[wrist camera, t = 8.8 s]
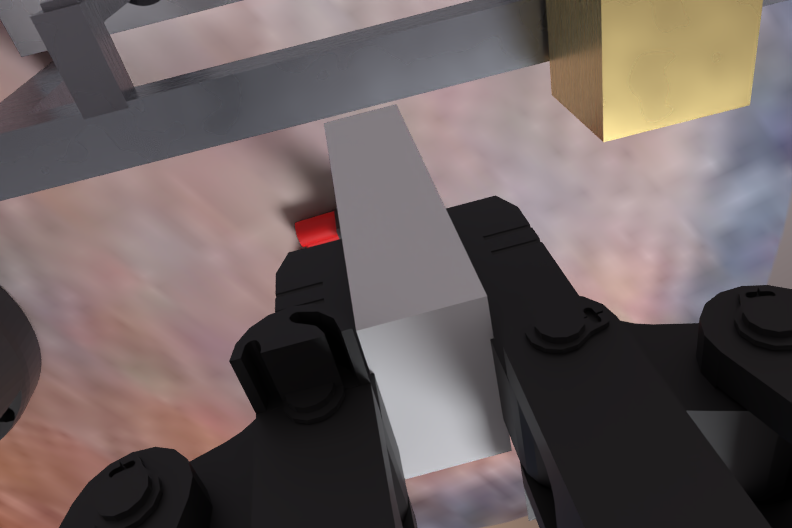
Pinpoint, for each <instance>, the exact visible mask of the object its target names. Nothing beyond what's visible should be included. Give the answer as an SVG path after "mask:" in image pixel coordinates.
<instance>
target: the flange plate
mask: <svg viewBox="0 0 792 528" xmlns="http://www.w3.org/2000/svg"><path fill="white" fill-rule="evenodd" d="M44 1H46V0H0V19H1V21H2V23H3V25H4V26H5V28H6V30H7V32H8V34H9V35H10V37H11V39H12V41H13V42H14V44H15V46H16V48H17V50H18V51H19V53H20V55H21V57H24V56H28V55H32V54H36V53H40V52H43V51H47V48H46V46H45V44H44V43H43V41H42V39H41V37H40V35H39V33H38V31H37V29H36V28H35V26H34V24H33V22H32V20H31V18H30V16H32V15H34V14H36V13H38V12H39V11H41V10H42V8H41V6H40V3H42V2H44ZM238 1H242V0H130V1H129V2H128V3H127V4H125V5H124V6H123V7H122V8H120V9H119V10H118V11H117V12H115V13H114V14H113V15H112V16H110V17H109V18H108V19H107V20H105V21H104V24H105V26H106V28H107V30H108V32H109V34H114V33H117V32H121V31H125V30H129V29H133V28H137V27H141V26H145V25H149V24H152V23H156V22H160V21H164V20H168V19H172V18H176V17H180V16H184V15H188V14H191V13H195V12H199V11H203V10H207V9H211V8H215V7H219V6H223V5H226V4H230V3H234V2H238Z"/></svg>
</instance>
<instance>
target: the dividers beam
mask: <svg viewBox="0 0 792 528" xmlns="http://www.w3.org/2000/svg"><path fill="white" fill-rule="evenodd" d="M129 1H130V0H46V1H44V2H42V3H40V6H41V8H42V10H41V11H39V12H38V13H36V14H34V15H32V16H30V18H31V20H32V22H33V24H34V26H35V28H36V29H37V31H38V33H39V35H40V37H41V39H42V41H43V43H44V44H45V46H46V48H47V50H48V52H49V54H50V56H51V58H52V60H53V61H52V62H51V63H50V64H49V65H47V66H46V67H45V68H43V69H42V70H41V71H40V72H38V73H37V74H36V75H35V76H33V77H32V78H31V79H30V80H28V81H27V82H26V83H25V84H23V85H22V86H21V87H20V88H18V89H17V90H16V91H14V92H13V93H12V94H11V95H9V96H8V97H7V98H6V99H4V100H3V101H2V102H1V103H0V201H2V200H6V199H10V198H14V197H18V196H22V195H26V194H30V193H34V192H37V191H41V190H45V189H49V188H53V187H57V186H61V185H65V184H69V183H73V182H77V181H81V180H84V179H88V178H92V177H96V176H100V175H104V174H108V173H112V172H116V171H120V170H124V169H128V168H132V167H135V166H139V165H143V164H147V163H151V162H155V161H159V160H163V159H167V158H171V157H175V156H179V155H183V154H186V153H190V152H194V151H198V150H202V149H206V148H210V147H214V146H218V145H222V144H226V143H230V142H234V141H237V140H241V139H245V138H249V137H253V136H257V135H261V134H265V133H269V132H273V131H277V130H281V129H285V128H288V127H292V126H296V125H300V124H304V123H308V122H312V121H316V120H320V119H324V118H328V117H332V116H336V115H339V114H343V113H347V112H351V111H355V110H359V109H363V108H367V107H371V106H375V105H379V104H383V103H387V102H390V101H394V100H398V99H402V98H406V97H410V96H414V95H418V94H422V93H426V92H430V91H434V90H437V89H441V88H445V87H449V86H453V85H457V84H461V83H465V82H469V81H473V80H477V79H481V78H485V77H488V76H492V75H496V74H500V73H504V72H508V71H512V70H516V69H520V68H524V67H528V66H532V65H536V64H539V63H543V62H547V61H550V59H549V43H548V28H547V13H546V0H473V1H469V2H465V3H461V4H457V5H453V6H450V7H446V8H442V9H438V10H434V11H430V12H426V13H422V14H418V15H414V16H410V17H407V18H403V19H399V20H395V21H391V22H387V23H383V24H379V25H375V26H371V27H367V28H364V29H360V30H356V31H352V32H348V33H344V34H340V35H336V36H332V37H328V38H325V39H321V40H317V41H313V42H309V43H305V44H301V45H297V46H293V47H289V48H285V49H282V50H278V51H274V52H270V53H266V54H262V55H258V56H254V57H250V58H246V59H243V60H239V61H235V62H231V63H227V64H223V65H219V66H215V67H211V68H207V69H203V70H200V71H196V72H192V73H188V74H184V75H180V76H176V77H172V78H168V79H164V80H160V81H157V82H153V83H149V84H145V85H141V86H137V87H134V86H133V84H132V82H131V79H130V77H129V75H128V73H127V71H126V69H125V67H124V64H123V62H122V60H121V58H120V56H119V54H118V51H117V49H116V47H115V45H114V43H113V41H112V39H111V36H110V34H109V32H108V30H107V28H106V26H105V24H104V21H105V20H107V19H108V18H109V17H110V16H112V15H113V14H114V13H115V12H117V11H118V10H119V9H120V8H122V7H123V6H124V5H125V4H127V3H128V2H129ZM783 1H787V0H763V4H762V7H763V6H767V5H771V4H775V3H779V2H783Z"/></svg>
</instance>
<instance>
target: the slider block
mask: <svg viewBox="0 0 792 528" xmlns="http://www.w3.org/2000/svg"><path fill="white" fill-rule="evenodd" d="M762 4H763V0H546V13H547V28H548V43H549V59H550V74H551V89H552V96H554V97H555V98H556V99H557V100H558V101H559V102H560V103H561V104H562V105H563V106H565V107H566V108H567V109H568V110H569V111H570V112H571V113H572V114H573V115H574V116H575V117H577V118H578V119H579V120H580V121H581V122H582V123H583V124H584V125H585V126H586V127H587V128H589V129H590V130H591V131H592V132H593V133H594V134H595V135H596V136H597V137H598V138H600V139H601V140H602V141H603V142H606V141H610V140H614V139H618V138H622V137H626V136H630V135H634V134H638V133H642V132H646V131H650V130H653V129H657V128H661V127H665V126H669V125H673V124H677V123H681V122H685V121H689V120H693V119H697V118H701V117H705V116H709V115H713V114H717V113H720V112H724V111H728V110H732V109H736V108H740V107H744V106H748V105H750V99H751V91H752V83H753V75H754V68H755V60H756V52H757V44H758V36H759V28H760V20H761V12H762Z"/></svg>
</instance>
